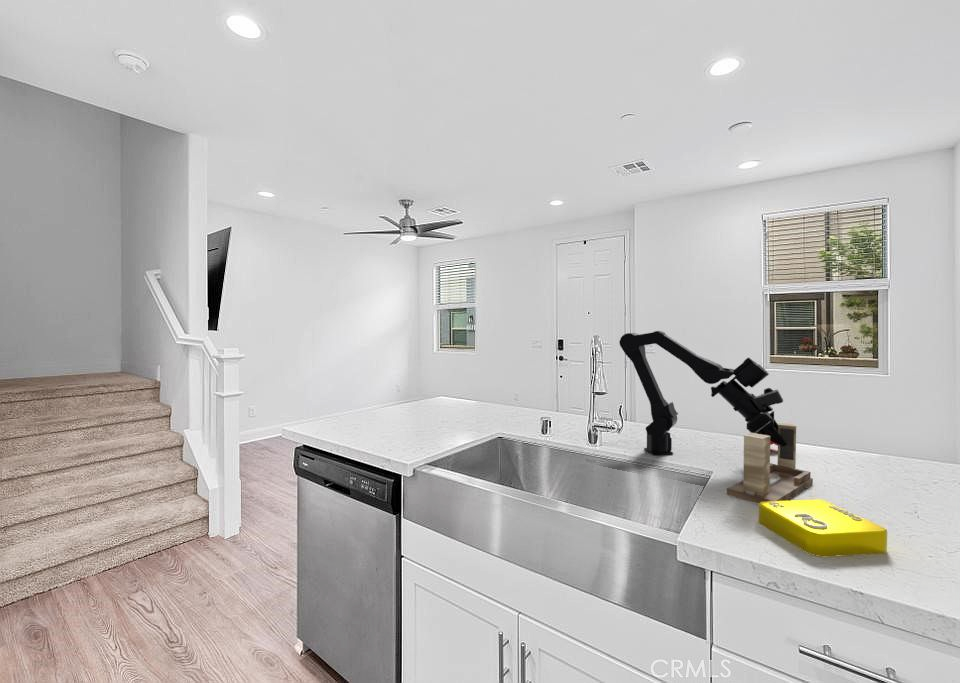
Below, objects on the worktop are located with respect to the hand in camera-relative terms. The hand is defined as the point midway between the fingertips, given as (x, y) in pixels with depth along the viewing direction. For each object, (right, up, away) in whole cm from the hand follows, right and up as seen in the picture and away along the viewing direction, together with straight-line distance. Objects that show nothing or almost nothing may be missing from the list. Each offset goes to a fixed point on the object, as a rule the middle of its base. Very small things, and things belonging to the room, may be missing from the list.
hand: (785, 441), depth 122 cm
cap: (+9, -8, +21) cm, 24 cm away
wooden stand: (-12, -9, -13) cm, 20 cm away
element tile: (-19, -10, -37) cm, 42 cm away
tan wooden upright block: (+1, -8, 0) cm, 8 cm away
